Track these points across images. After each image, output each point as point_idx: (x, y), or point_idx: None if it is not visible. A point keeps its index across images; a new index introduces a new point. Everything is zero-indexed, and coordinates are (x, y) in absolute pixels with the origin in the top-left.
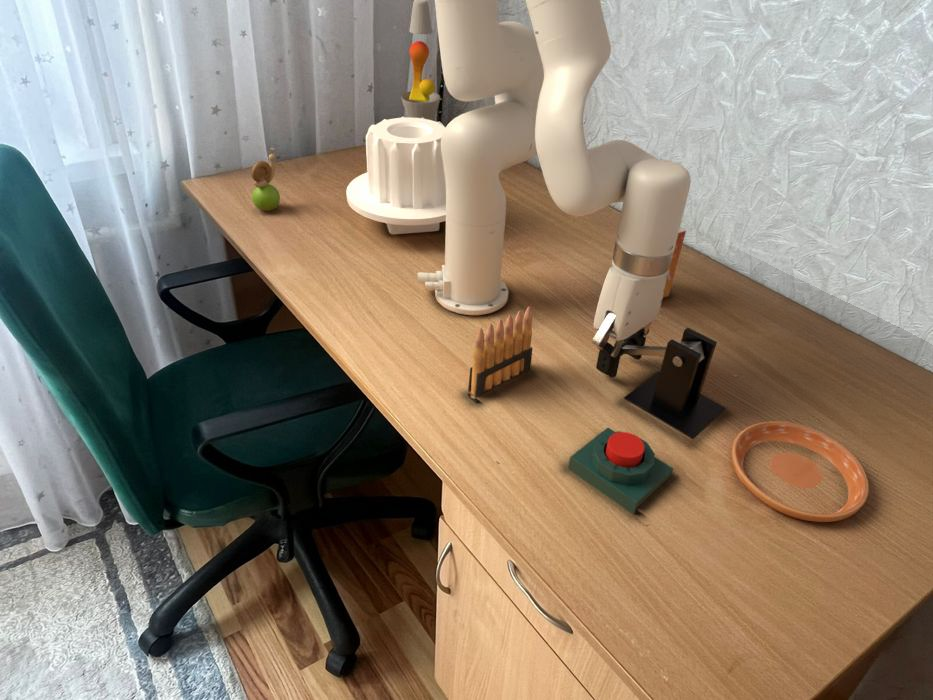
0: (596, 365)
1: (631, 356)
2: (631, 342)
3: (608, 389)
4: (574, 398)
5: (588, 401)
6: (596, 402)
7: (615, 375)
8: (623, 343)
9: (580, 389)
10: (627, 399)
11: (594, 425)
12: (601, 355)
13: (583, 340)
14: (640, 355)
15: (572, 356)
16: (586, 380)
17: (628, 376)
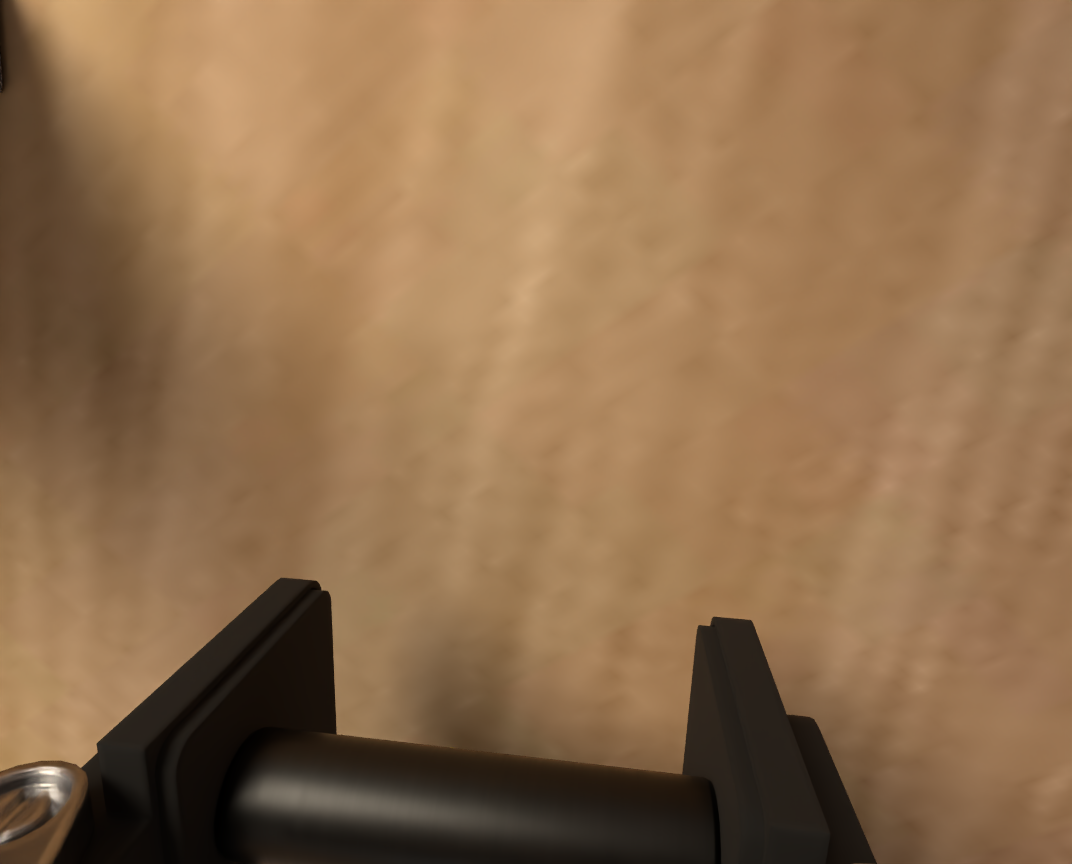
0: (270, 587)
1: (689, 728)
2: None
3: (359, 642)
4: (98, 521)
5: (153, 606)
6: (189, 649)
7: None
8: (507, 857)
9: (201, 498)
10: None
11: (27, 740)
12: (96, 762)
13: (784, 97)
14: None
15: (480, 190)
16: (315, 473)
17: (599, 677)
